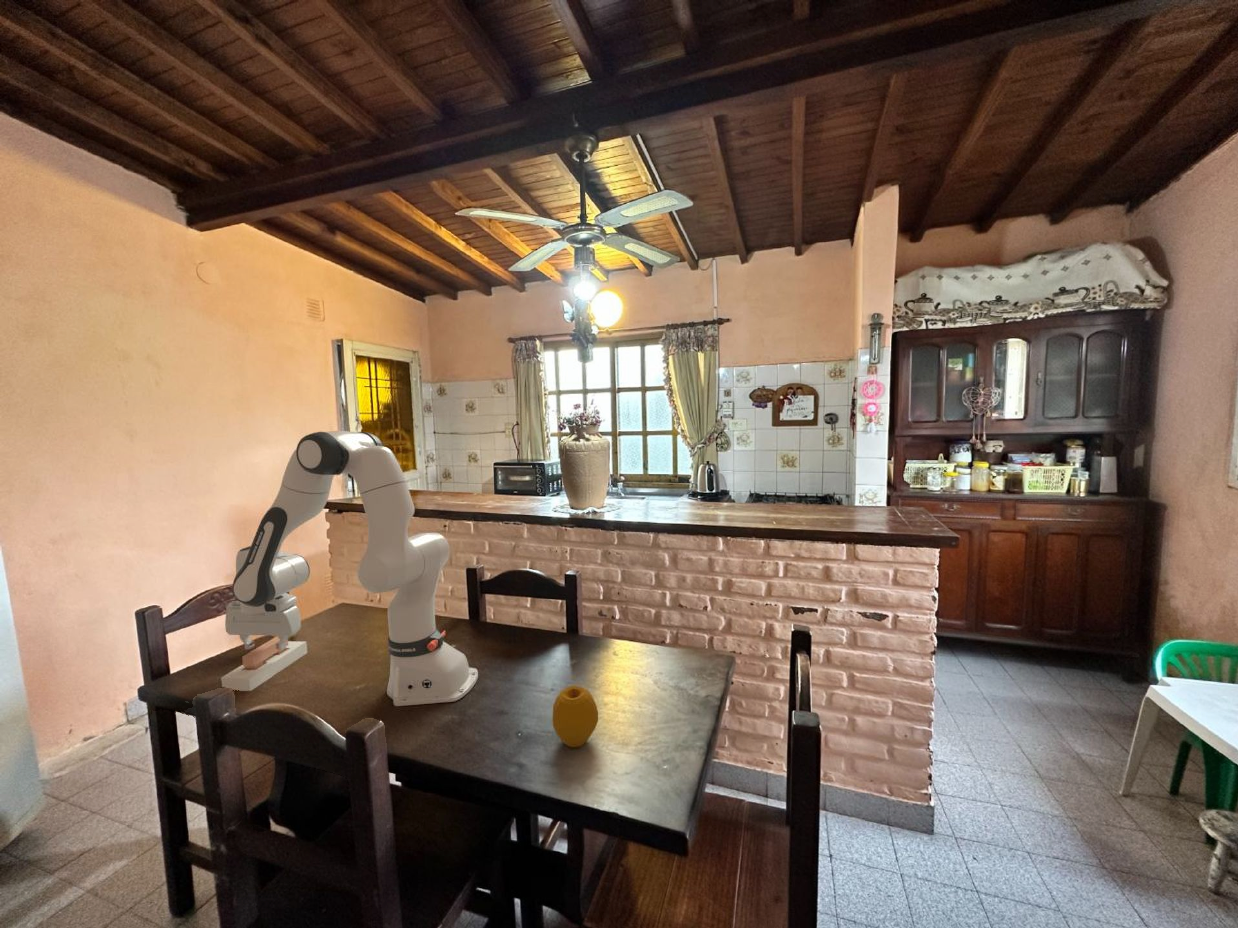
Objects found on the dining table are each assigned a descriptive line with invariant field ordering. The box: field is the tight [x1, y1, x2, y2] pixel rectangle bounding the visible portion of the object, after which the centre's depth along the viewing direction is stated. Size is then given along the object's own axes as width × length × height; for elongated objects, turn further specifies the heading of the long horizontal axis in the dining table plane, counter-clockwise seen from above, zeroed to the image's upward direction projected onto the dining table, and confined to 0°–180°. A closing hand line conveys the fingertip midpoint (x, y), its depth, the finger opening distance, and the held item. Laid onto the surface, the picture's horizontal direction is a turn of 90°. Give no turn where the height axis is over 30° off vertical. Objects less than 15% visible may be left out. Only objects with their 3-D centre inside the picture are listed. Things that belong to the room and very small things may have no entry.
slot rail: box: [220, 640, 308, 692], centre depth 135 cm, size 8×20×4 cm, turn 174°
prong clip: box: [241, 636, 288, 670], centre depth 135 cm, size 3×12×7 cm, turn 174°
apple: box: [552, 685, 599, 748], centre depth 101 cm, size 10×10×12 cm
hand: (265, 648), depth 134 cm, fingers open, 8 cm apart
